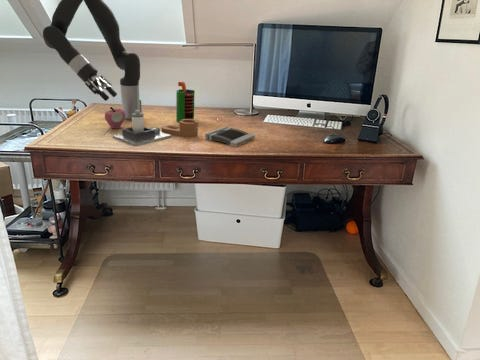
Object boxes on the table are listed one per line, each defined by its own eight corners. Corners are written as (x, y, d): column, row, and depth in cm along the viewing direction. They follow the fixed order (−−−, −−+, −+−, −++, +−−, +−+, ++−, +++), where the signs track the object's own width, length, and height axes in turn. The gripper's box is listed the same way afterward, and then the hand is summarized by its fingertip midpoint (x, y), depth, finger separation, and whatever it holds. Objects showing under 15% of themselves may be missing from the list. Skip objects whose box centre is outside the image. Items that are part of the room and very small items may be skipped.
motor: (190, 123, 201) (190, 84, 193) (173, 122, 202) (172, 82, 194) (196, 119, 210) (196, 81, 202) (180, 117, 211) (179, 80, 204)
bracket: (200, 135, 184) (200, 120, 181) (192, 139, 176) (192, 124, 174) (167, 129, 190) (167, 115, 187) (158, 133, 182) (157, 118, 180)
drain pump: (139, 133, 176) (138, 108, 172) (146, 136, 173) (145, 110, 169) (130, 135, 173) (128, 110, 168) (137, 138, 170) (135, 112, 165)
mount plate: (149, 129, 186) (149, 121, 185) (171, 137, 177) (171, 128, 175) (112, 137, 172) (112, 128, 171) (134, 145, 163) (133, 136, 161)
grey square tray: (226, 126, 189) (255, 129, 181) (226, 135, 190) (255, 139, 182) (205, 133, 175) (235, 137, 167) (205, 143, 177) (236, 148, 169)
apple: (106, 130, 181) (105, 109, 178) (104, 126, 189) (102, 105, 185) (127, 129, 185) (126, 108, 182) (124, 124, 193) (123, 104, 189)
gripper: (80, 64, 156) (110, 94, 160) (96, 60, 169) (123, 89, 173) (69, 76, 158) (99, 106, 162) (85, 72, 172) (112, 100, 175)
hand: (111, 97), depth 167 cm, fingers open, 8 cm apart
